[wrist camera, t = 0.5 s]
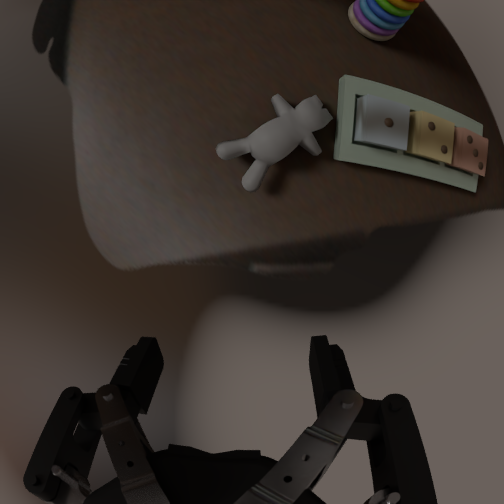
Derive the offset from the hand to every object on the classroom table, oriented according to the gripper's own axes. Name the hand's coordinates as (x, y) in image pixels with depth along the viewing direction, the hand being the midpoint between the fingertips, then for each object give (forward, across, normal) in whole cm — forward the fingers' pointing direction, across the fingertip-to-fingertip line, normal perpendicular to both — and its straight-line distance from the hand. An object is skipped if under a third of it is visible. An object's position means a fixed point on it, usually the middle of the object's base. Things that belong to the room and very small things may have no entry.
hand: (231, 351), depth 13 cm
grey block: (+26, -18, -12) cm, 33 cm away
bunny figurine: (+28, -4, -10) cm, 30 cm away
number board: (+28, -26, -11) cm, 40 cm away
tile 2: (+25, -26, -11) cm, 38 cm away
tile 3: (+25, -34, -10) cm, 43 cm away
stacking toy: (+28, -20, -30) cm, 46 cm away
